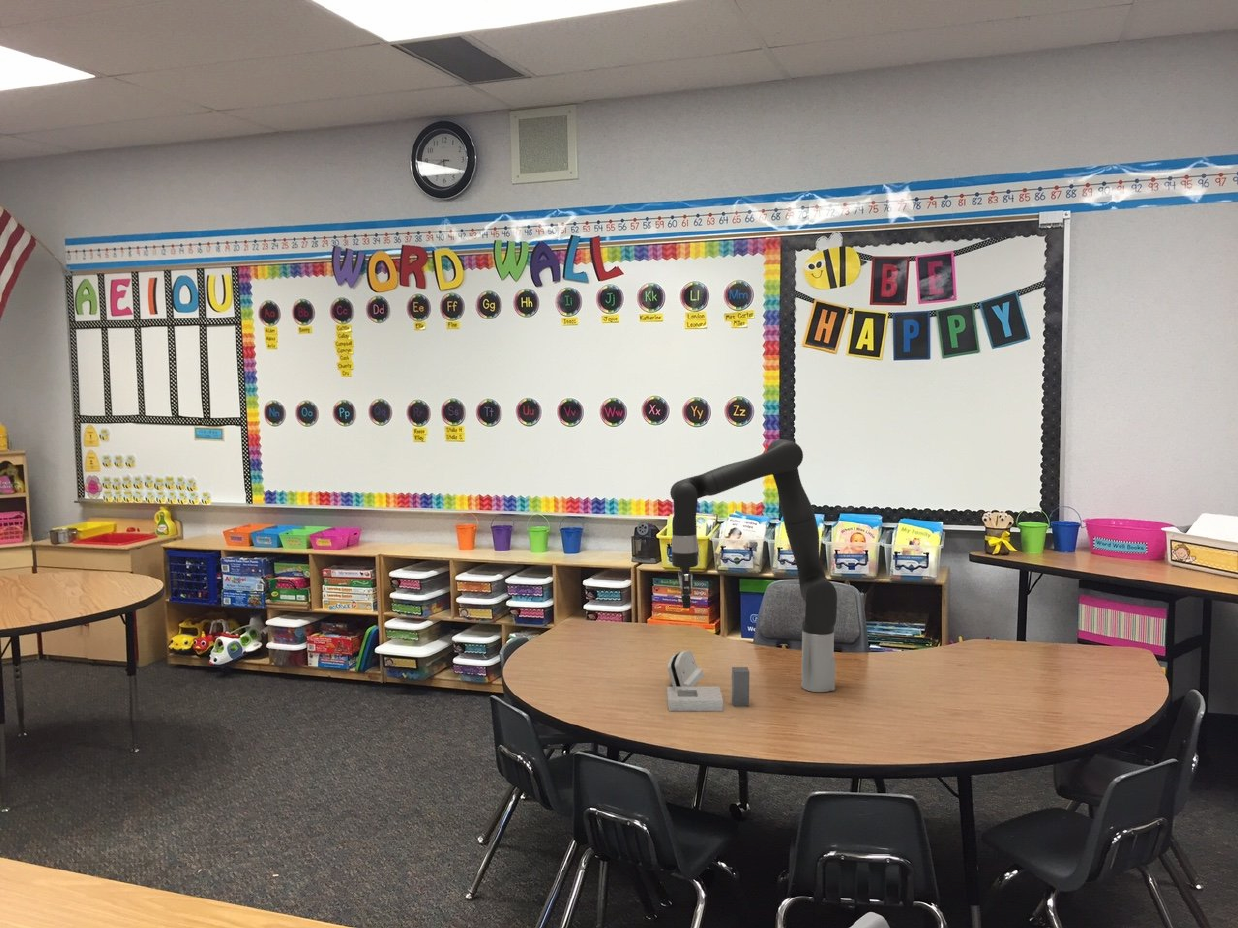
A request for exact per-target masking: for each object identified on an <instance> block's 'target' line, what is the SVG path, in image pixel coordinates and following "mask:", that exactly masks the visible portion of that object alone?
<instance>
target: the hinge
mask: <svg viewBox="0 0 1238 928" xmlns="http://www.w3.org/2000/svg"><path fill="white" fill-rule="evenodd" d="M667 671H668V674H669V678H670V682H671V685H672V687H696V685H697V684H698V683H697V682H700V680H701V679H702V678H703V677H704V676H705V675H704V671H703V669H701V668H700V667H699V666H698V665H697V662H696V659H695V656H694V655H693V652H692V651H690V650H685V651H684V650H683V651H679V652H677V653H675V654H674V655H672V656H671V657H670V660H669V661H668V665H667Z"/></svg>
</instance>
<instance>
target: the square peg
mask: <svg viewBox="0 0 1238 928" xmlns="http://www.w3.org/2000/svg"><path fill="white" fill-rule="evenodd" d="M731 703H732V706H733V707H734V708H735V707H736V708H737V707H741V708H743V707H745V708H747V707H750V670H749V668H748V666H732V667H731Z"/></svg>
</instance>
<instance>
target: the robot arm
mask: <svg viewBox="0 0 1238 928" xmlns="http://www.w3.org/2000/svg"><path fill="white" fill-rule="evenodd" d="M803 458H804V451H803V449H802V447H801V446H800V445H799V444H798V443H796V442H794V441H793V440H789V439H784V438H783V439H782V438H781V439H780V438H779V439H776V440H773V441H772V442H771V443H770V444H769V445H768V446H767V449H766V451H765V452H763V453H761V454H759V455H757V456H754V457H751V458H748V459H744V460H741V461H737V462H733V463H728V464H725V465H722V466H719V467H717V468H714V469H712V470H709V471H706V472H704V473H702V474H698V475H693V476H690V477H686V478H684V479H681V480H678V481H676V482H675V483H674V484H673V485H672V486H671V488H670V493H669V494H670V498H671V500H672V501H673V517H672V522H671V523H672V524H671V526H672V527H671V528H672V529H671V530H672V534H671V535H672V536H671V537H672V538H671V560H672V562H671V564H672V566H673V567H675V568H679V571H678V573H677V574H678V582H679V588H680V589H681V590H680V591H681V592H680V593H681V594H680V595H681V598H680V599H681V601H682V608H683V609H691V608H692V607H691V595H692V588H693V571H692V570H691V571H690V569H691V568H696V567H698V565H699V548H698V547H699V545H698V544H699V543H698V537H697V536H698V535H697V532H698V531H697V526H698V525H697V511H698V502H699V501H698V500H699V499H701V498H703V497H707V496H708V497H709V496H711V497H712V496H715V495H719V494H720V493H724V492H726V491H729V490H731V489H734V488H736V487H739V486H741V485H744V484H747V483H749V482H752V481H755V480H757V479H760V478H764V477H767V476H771V475H772V476H773V480H774V483H775V486H776V489H777V494H778V499H779V505H780V506H779V507H780V509H781V514H782V519H783V524H784V528H785V532H786V535H787V540H788V542H789V546H790V549H791V551H792V554H793V558H794V560H795V563H796V571H797V576H798V583H799V585H798V586H799V591H800V595H801V598H802V599H803V601H804V602H805V607H804V608H805V611H804V612H805V614H804V620H803V621H802V625H801V628H802V629H801V631H802V632H801V634H802V635H801V679H800V681H801V688H802V689H803V690H805V691H807V692H808V691H809V692H813V693H826V692H832V691H835V690H836V658H835V656H834V654H835V653H834V652H835V651H834V650H835V649H834V648H835V647H834V645H835V644H834V643H835V641H834V640H835V626H836V623H837V614H838V612H837V611H838V592H837V589H836V587H835V586H834V584H833V583H832V582H831V581H829V580H828V579H827V576H826V574H825V571H824V567H823V565H822V562H821V557H820V533H819V526H818V522H817V519H816V513H815V512H814V508H813V505H812V503H811V501H810V499H809V497H808V495H807V493H806V491H805V489H804V487H803V484H802V481H801V478H800V474H799V473H800V472H799V466H801V464H802V462H803Z"/></svg>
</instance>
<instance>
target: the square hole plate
mask: <svg viewBox="0 0 1238 928" xmlns="http://www.w3.org/2000/svg"><path fill="white" fill-rule="evenodd" d="M666 699H667V700H666V701H667V705H668V706H667V708H669V709H668V712H724V699H723V695H722V692H721V689H720V686H694V687H673V686H666Z"/></svg>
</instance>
